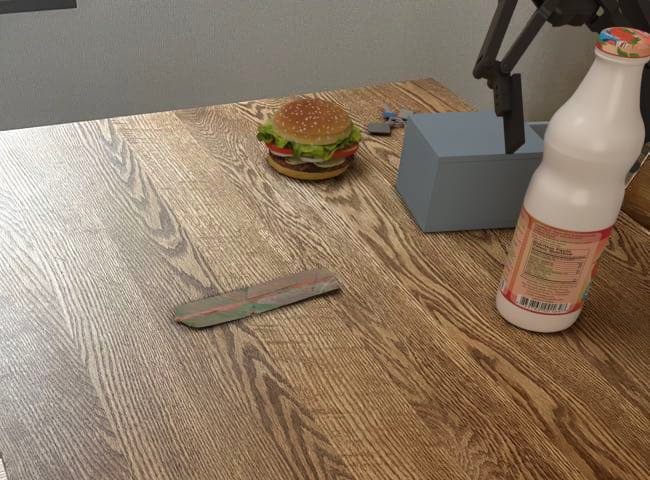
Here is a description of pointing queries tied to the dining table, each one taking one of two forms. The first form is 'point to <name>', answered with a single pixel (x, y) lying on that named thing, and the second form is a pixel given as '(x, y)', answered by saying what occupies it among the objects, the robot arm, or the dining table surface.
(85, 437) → the dining table surface
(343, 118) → the food
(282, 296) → the map
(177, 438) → the dining table surface
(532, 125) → the drawer
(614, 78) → the fruit juice
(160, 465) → the dining table surface
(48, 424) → the dining table surface
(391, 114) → the key chain
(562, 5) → the robot arm
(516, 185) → the cabinet
